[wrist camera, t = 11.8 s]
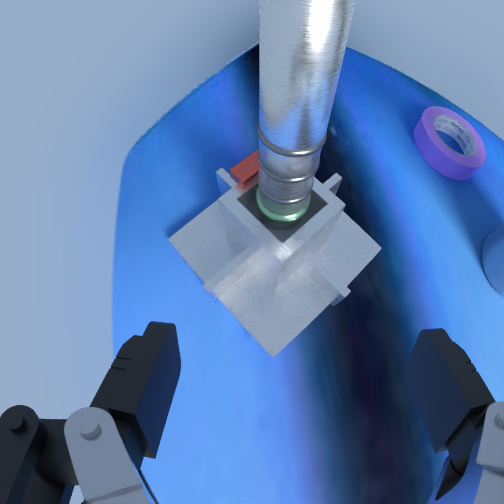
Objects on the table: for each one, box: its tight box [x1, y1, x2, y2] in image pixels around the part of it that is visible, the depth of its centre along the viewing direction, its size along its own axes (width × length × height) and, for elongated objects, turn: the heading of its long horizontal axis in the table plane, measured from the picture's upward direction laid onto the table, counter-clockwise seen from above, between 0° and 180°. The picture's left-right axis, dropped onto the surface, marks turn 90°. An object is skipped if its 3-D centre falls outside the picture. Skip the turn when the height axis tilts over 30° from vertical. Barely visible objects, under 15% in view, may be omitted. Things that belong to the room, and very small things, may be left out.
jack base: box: [168, 150, 382, 358], centre depth 28 cm, size 17×17×11 cm
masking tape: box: [413, 106, 486, 180], centre depth 37 cm, size 12×12×4 cm
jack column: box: [256, 0, 356, 231], centre depth 14 cm, size 4×4×23 cm
